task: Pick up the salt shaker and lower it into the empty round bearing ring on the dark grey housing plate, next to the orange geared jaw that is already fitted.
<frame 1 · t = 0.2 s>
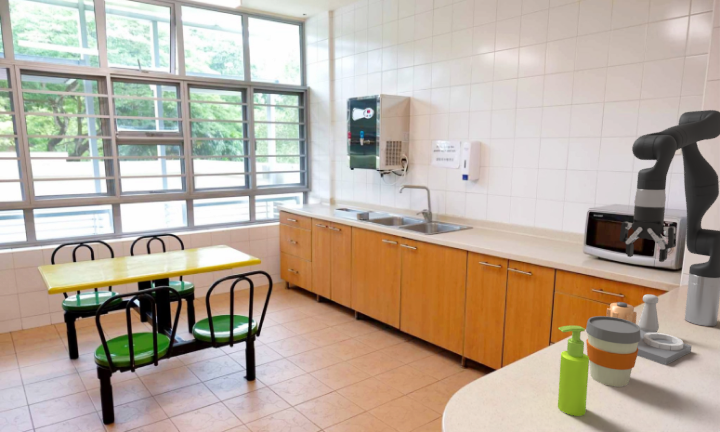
hand: (645, 258, 135), 28 cm above the countertop, tool pointing down, fingers open, 8 cm apart
salt shaker: (647, 333, 152), on the countertop
reusable coffee cup: (609, 378, 121), on the countertop
housing: (640, 345, 142), on the countertop
soap dispenser: (569, 409, 106), on the countertop
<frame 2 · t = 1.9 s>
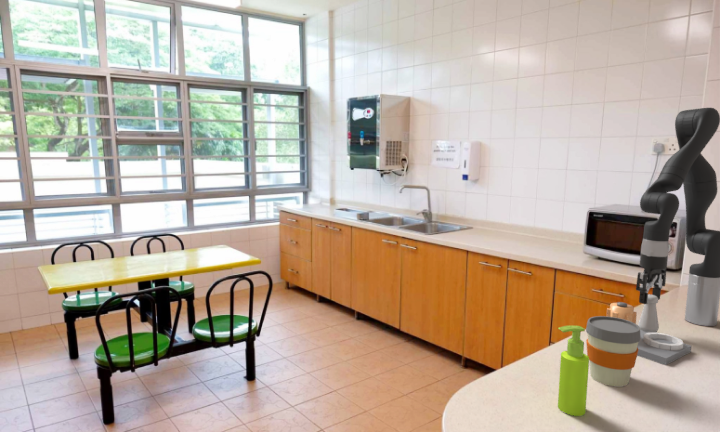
hand: (649, 301, 150), 11 cm above the countertop, tool pointing down, fingers open, 8 cm apart
nothing on the countertop moved.
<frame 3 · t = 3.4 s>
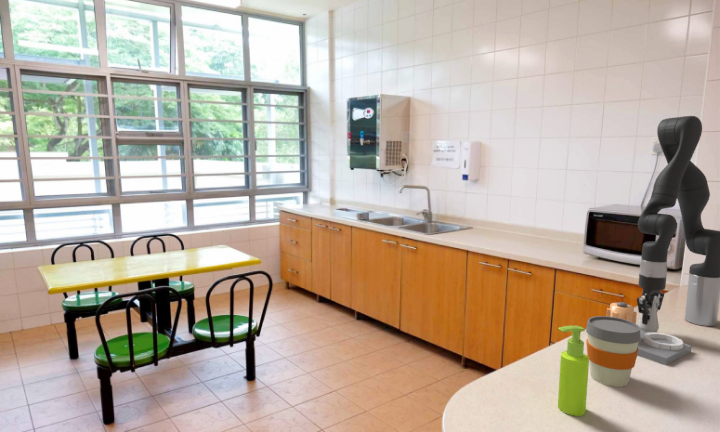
hand: (648, 324, 151), 3 cm above the countertop, tool pointing down, fingers closed on salt shaker, 3 cm apart
salt shaker: (647, 333, 152), on the countertop, touching gripper
everything else where it was.
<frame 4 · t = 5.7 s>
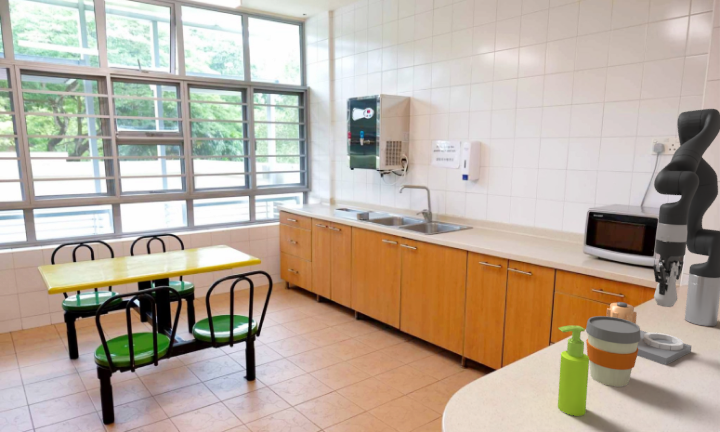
hand: (665, 294, 137), 17 cm above the countertop, tool pointing down, fingers closed on salt shaker, 3 cm apart
salt shaker: (664, 305, 137), point 14 cm above the countertop, touching gripper
everything else where it was.
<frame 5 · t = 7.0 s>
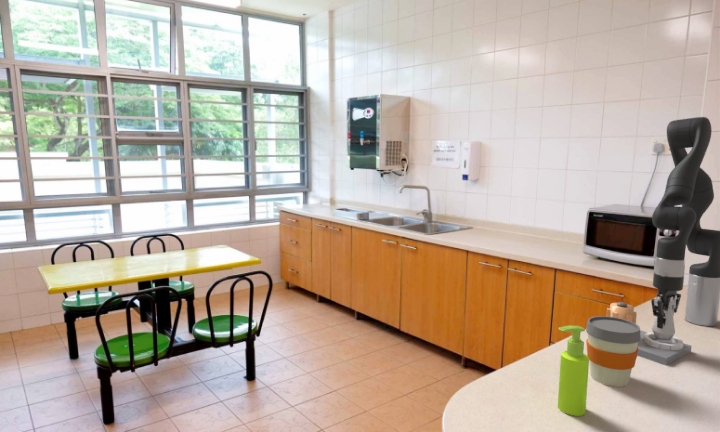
hand: (663, 327, 138), 7 cm above the countertop, tool pointing down, fingers closed on salt shaker, 3 cm apart
salt shaker: (662, 338, 138), point 4 cm above the countertop, touching gripper
everything else where it was.
when the fingers open (6 cm above the countertop, at t = 7.9 s): salt shaker stays where it is, resting on housing.
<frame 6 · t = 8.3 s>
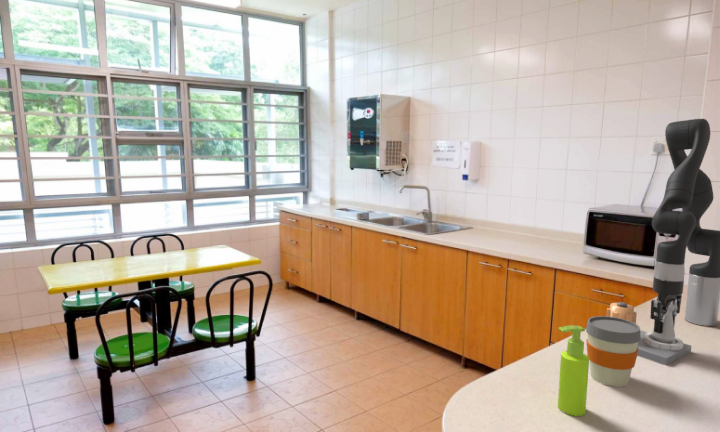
hand: (663, 330, 138), 6 cm above the countertop, tool pointing down, fingers open, 6 cm apart
salt shaker: (662, 343, 139), point 2 cm above the countertop, touching housing
everything else where it was.
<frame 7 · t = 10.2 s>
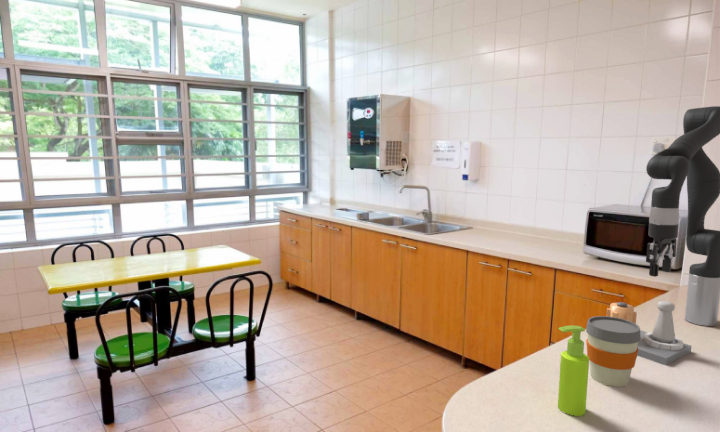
hand: (659, 273, 141), 23 cm above the countertop, tool pointing down, fingers open, 8 cm apart
nothing on the countertop moved.
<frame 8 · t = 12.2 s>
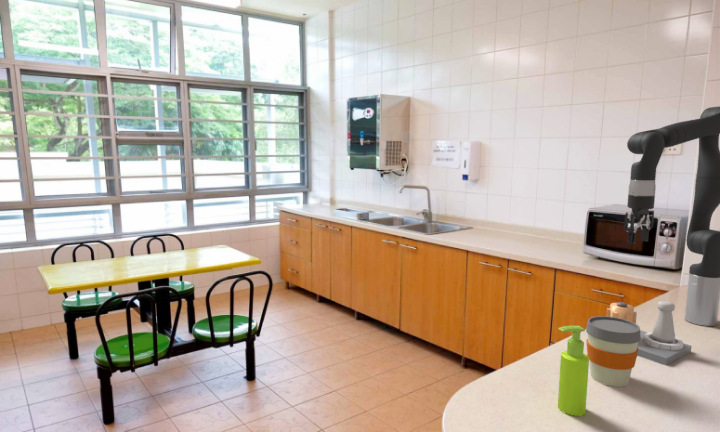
hand: (637, 242, 152), 30 cm above the countertop, tool pointing down, fingers open, 8 cm apart
nothing on the countertop moved.
at the end: salt shaker 0.2 cm from the target spot on the housing, point 1.8 cm above the housing's base; salt shaker tilted 0°; the gripper is holding nothing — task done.
